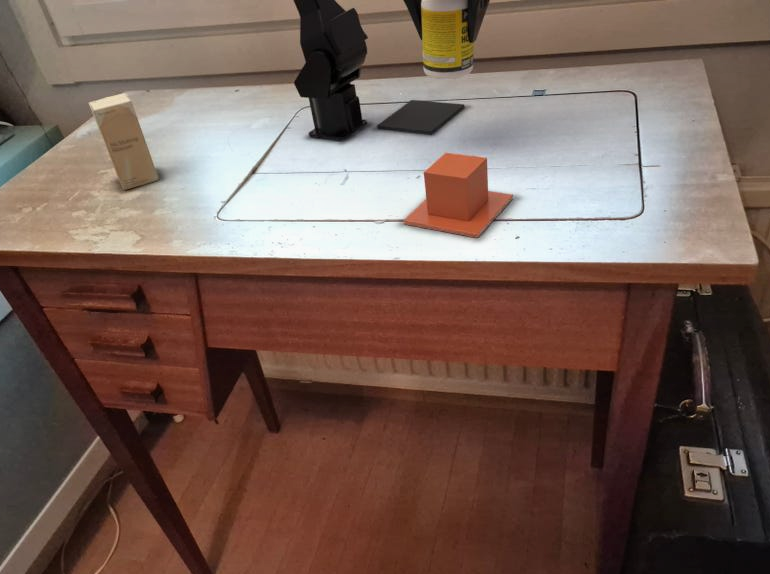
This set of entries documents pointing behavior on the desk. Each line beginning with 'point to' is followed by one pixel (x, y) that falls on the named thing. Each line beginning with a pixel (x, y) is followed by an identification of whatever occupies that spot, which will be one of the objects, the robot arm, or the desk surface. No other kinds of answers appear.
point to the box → (124, 140)
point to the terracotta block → (456, 186)
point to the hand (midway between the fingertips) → (447, 40)
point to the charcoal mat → (421, 117)
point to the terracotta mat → (459, 226)
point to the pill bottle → (446, 39)
